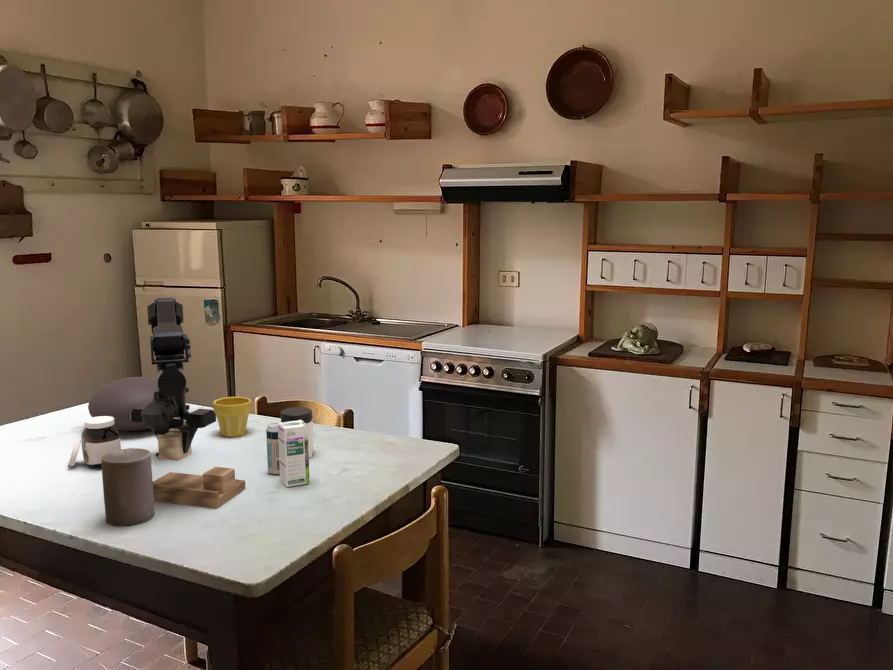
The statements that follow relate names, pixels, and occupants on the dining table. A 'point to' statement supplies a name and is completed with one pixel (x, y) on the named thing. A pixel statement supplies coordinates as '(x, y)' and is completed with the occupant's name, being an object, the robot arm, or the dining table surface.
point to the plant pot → (232, 415)
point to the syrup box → (293, 453)
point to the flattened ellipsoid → (123, 400)
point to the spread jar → (96, 441)
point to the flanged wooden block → (171, 446)
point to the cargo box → (219, 479)
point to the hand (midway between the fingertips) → (175, 452)
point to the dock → (191, 490)
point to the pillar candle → (127, 486)
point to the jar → (305, 416)
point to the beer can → (273, 449)
